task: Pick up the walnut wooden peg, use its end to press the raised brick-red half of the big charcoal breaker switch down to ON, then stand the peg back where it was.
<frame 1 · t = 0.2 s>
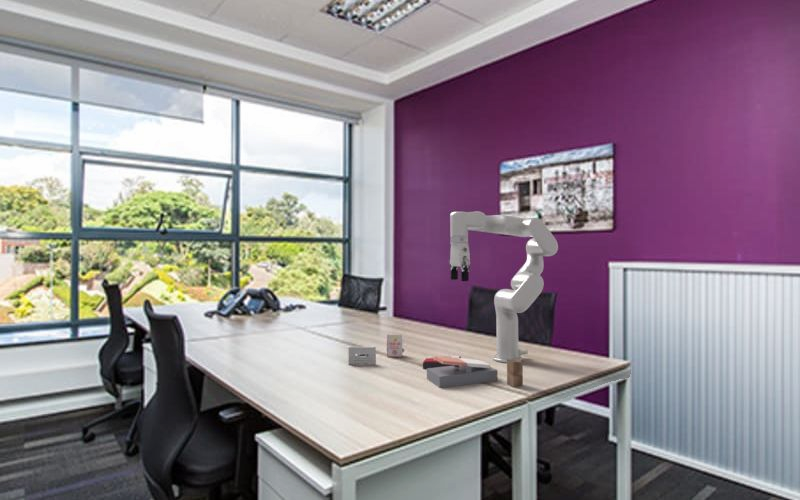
hand: (459, 280, 194), 36 cm above the table, tool pointing down, fingers open, 9 cm apart
peg: (514, 385, 165), on the table
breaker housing: (461, 379, 173), on the table
cassette: (362, 365, 197), on the table
white cardboard box: (394, 356, 211), on the table
breaker rocker: (461, 363, 173), point 6 cm above the table, hinge at -10.0°
calculator: (442, 367, 192), on the table
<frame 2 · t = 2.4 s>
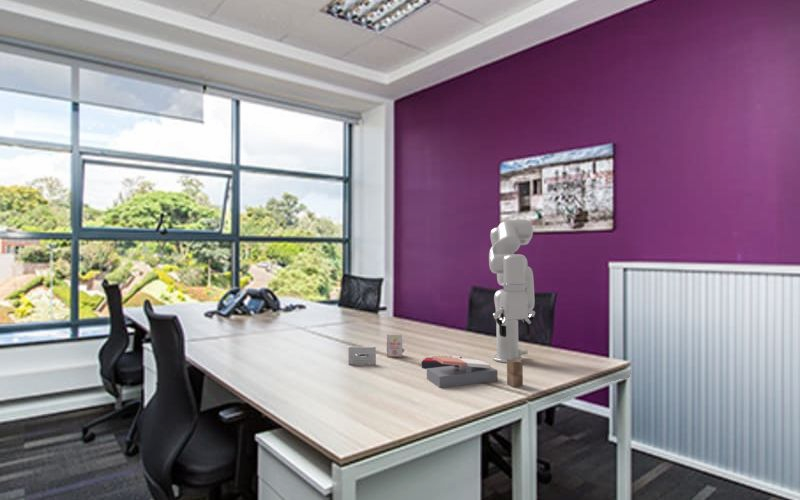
hand: (514, 335, 165), 18 cm above the table, tool pointing down, fingers open, 9 cm apart
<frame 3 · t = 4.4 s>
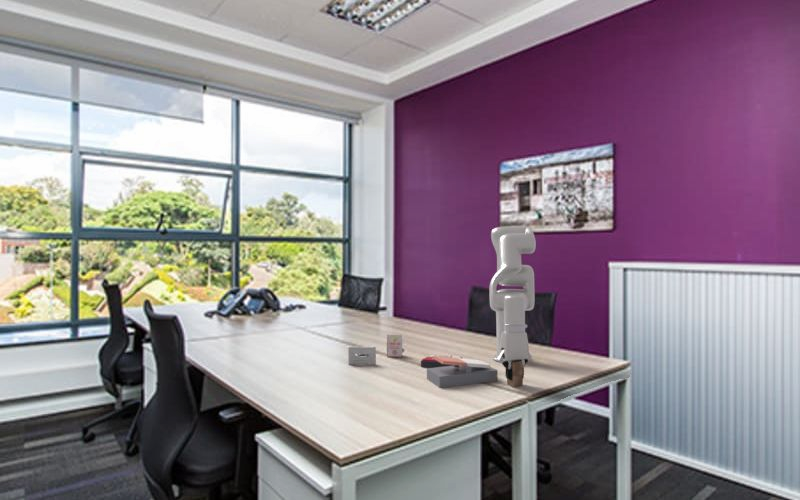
hand: (514, 377, 165), 3 cm above the table, tool pointing down, fingers closed on peg, 4 cm apart
peg: (514, 385, 165), on the table, touching gripper
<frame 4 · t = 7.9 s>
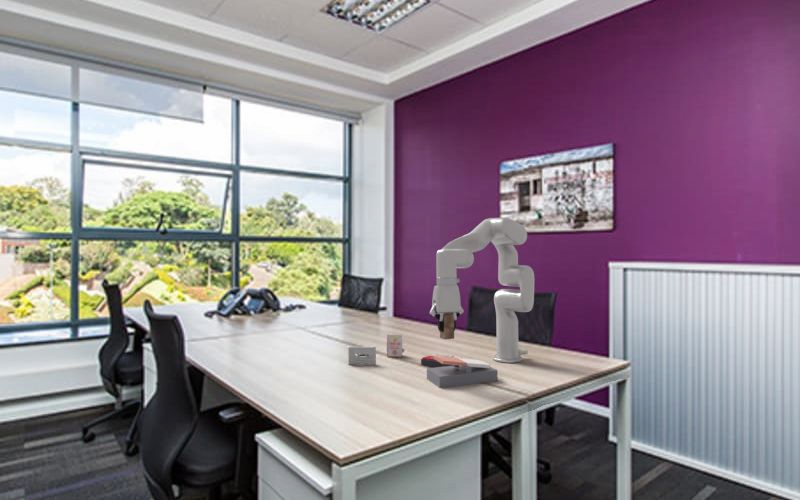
hand: (446, 330, 169), 20 cm above the table, tool pointing down, fingers closed on peg, 4 cm apart
peg: (447, 338, 169), point 17 cm above the table, touching gripper
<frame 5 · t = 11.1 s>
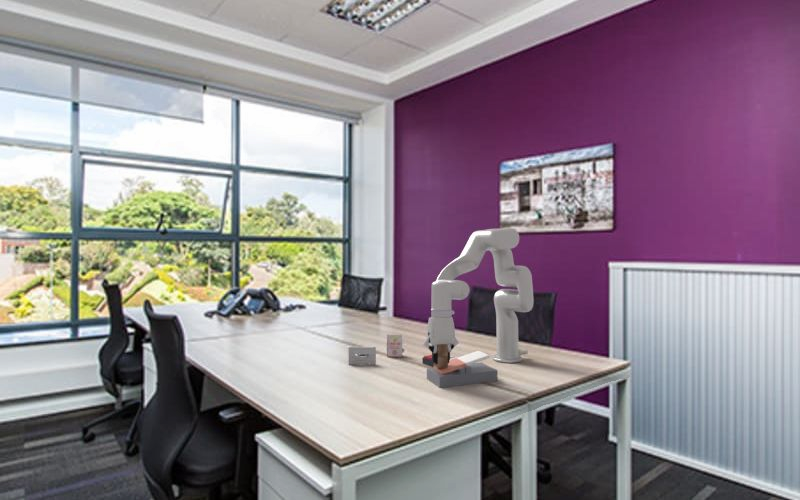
hand: (440, 362, 169), 8 cm above the table, tool pointing down, fingers closed on peg, 4 cm apart
peg: (440, 366, 170), point 6 cm above the table, touching breaker rocker, gripper
breaker rocker: (461, 363, 173), point 6 cm above the table, hinge at 12.3°, touching peg
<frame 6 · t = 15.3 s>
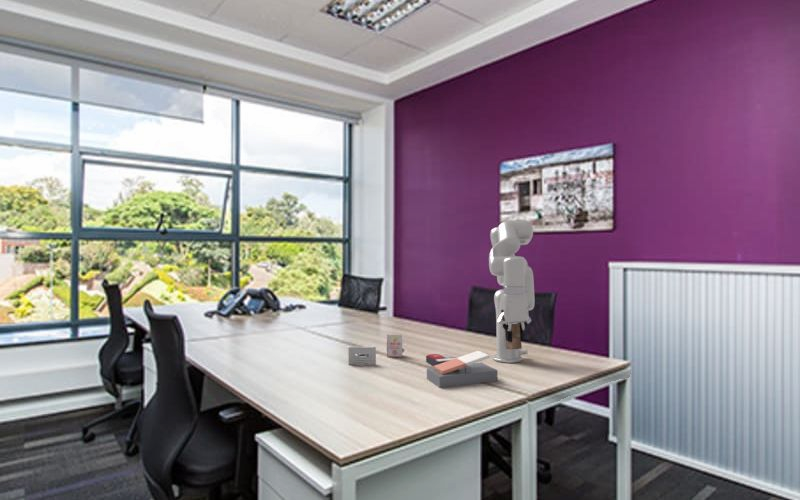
hand: (514, 340, 165), 16 cm above the table, tool pointing down, fingers closed on peg, 4 cm apart
peg: (514, 348, 165), point 13 cm above the table, tilted 9°, touching gripper
breaker rocker: (461, 363, 173), point 6 cm above the table, hinge at 12.3°
when the fingers open (3 cm above the table, at t = 18.7 s): peg stays where it is, on the table.
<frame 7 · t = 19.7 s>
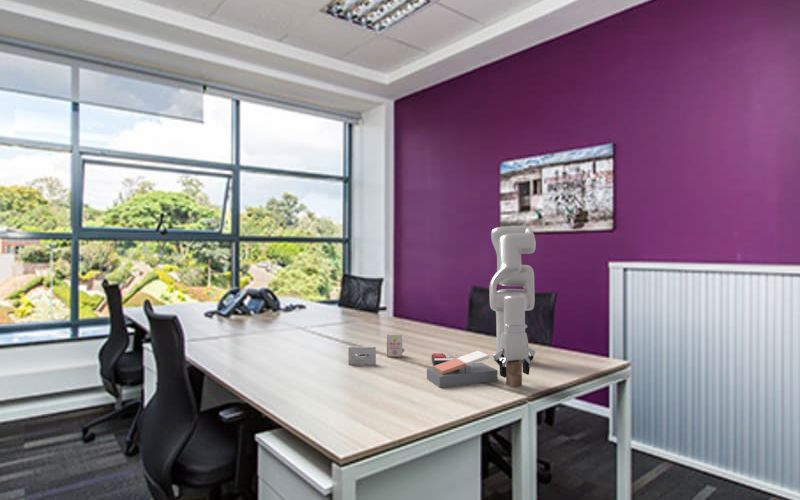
hand: (514, 375, 166), 4 cm above the table, tool pointing down, fingers open, 9 cm apart
peg: (514, 385, 165), on the table
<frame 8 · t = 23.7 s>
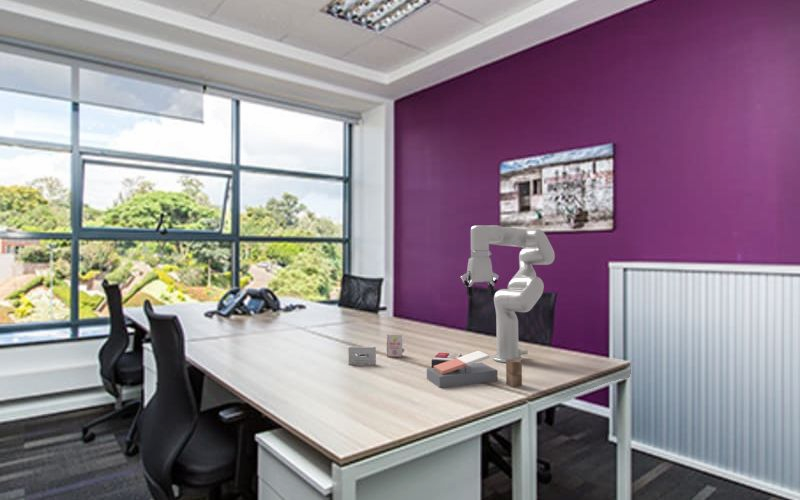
hand: (480, 295, 189), 30 cm above the table, tool pointing down, fingers open, 9 cm apart
at the end: breaker rocker at +12° (first picture: -10°); peg inside the target area (0.3 cm from its centre), on the table; peg tilted 0° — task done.
